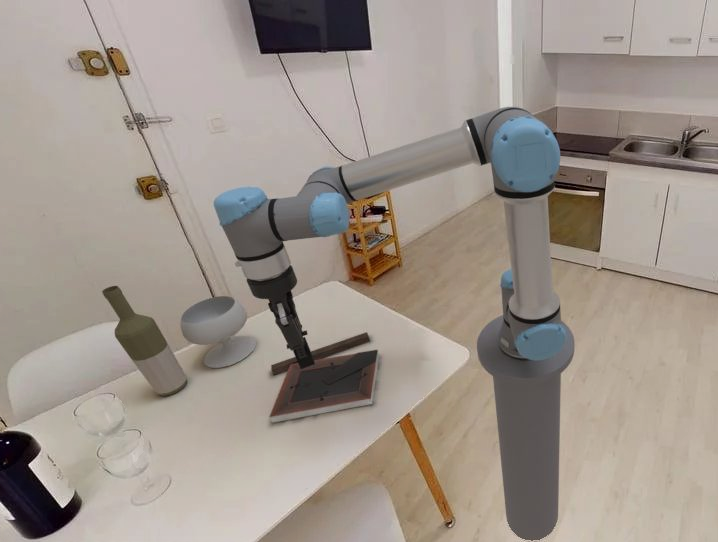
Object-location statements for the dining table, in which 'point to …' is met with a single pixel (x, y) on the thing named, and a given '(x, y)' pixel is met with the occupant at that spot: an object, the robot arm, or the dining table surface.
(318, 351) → the walnut rail
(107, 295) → the bottle
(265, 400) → the dining table surface
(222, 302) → the chalice
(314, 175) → the robot arm
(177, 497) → the dining table surface
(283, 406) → the picture frame
